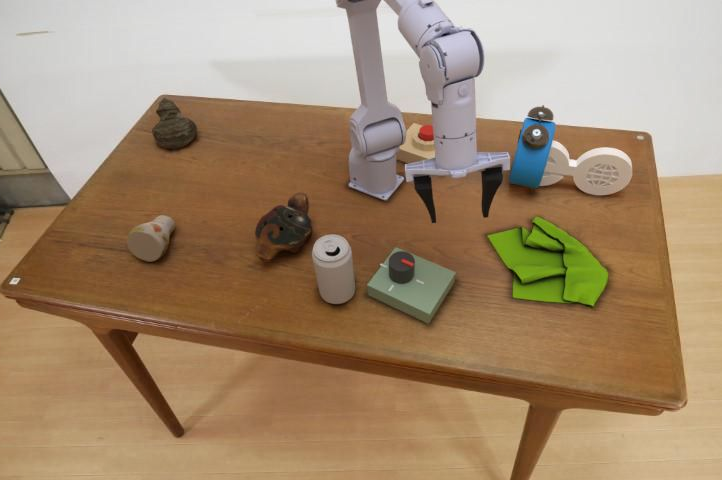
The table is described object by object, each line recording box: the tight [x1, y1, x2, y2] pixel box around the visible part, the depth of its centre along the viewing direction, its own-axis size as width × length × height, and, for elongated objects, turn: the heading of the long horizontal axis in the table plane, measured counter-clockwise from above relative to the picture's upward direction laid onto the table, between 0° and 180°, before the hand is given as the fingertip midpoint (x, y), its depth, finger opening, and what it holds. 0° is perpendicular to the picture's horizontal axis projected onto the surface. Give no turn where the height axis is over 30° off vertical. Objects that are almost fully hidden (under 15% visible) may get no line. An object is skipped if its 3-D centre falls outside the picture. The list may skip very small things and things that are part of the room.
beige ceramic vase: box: [125, 214, 176, 262], centre depth 92 cm, size 8×10×10 cm
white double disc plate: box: [539, 139, 633, 196], centre depth 96 cm, size 22×2×10 cm, turn 73°
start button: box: [419, 124, 434, 141], centre depth 104 cm, size 4×4×2 cm
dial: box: [389, 250, 415, 284], centre depth 82 cm, size 4×4×4 cm
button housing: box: [396, 122, 435, 164], centre depth 107 cm, size 12×10×5 cm
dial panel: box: [366, 246, 457, 325], centre depth 84 cm, size 12×10×3 cm
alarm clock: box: [508, 104, 557, 193], centre depth 96 cm, size 13×6×15 cm, turn 160°
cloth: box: [486, 216, 610, 307], centre depth 87 cm, size 20×22×2 cm
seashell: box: [151, 97, 198, 150], centre depth 112 cm, size 11×12×10 cm
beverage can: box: [311, 233, 356, 305], centre depth 81 cm, size 6×6×12 cm
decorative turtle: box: [254, 191, 313, 263], centre depth 90 cm, size 10×15×8 cm, turn 155°
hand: (459, 217), depth 73 cm, fingers open, 7 cm apart
